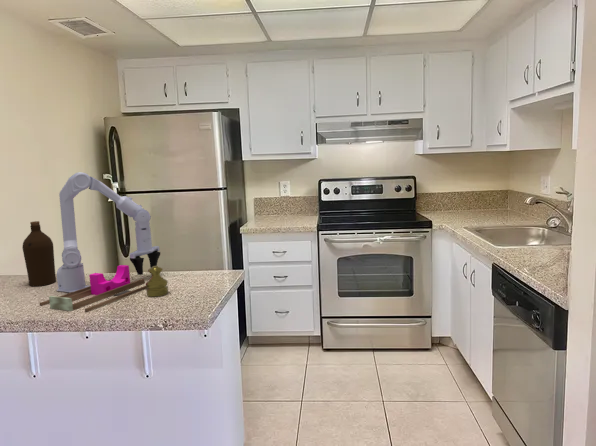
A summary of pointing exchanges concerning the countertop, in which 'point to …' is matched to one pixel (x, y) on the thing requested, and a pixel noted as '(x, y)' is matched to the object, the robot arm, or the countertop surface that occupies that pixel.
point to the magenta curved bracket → (103, 285)
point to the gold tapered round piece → (156, 283)
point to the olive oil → (39, 257)
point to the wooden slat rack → (66, 300)
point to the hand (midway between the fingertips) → (147, 272)
